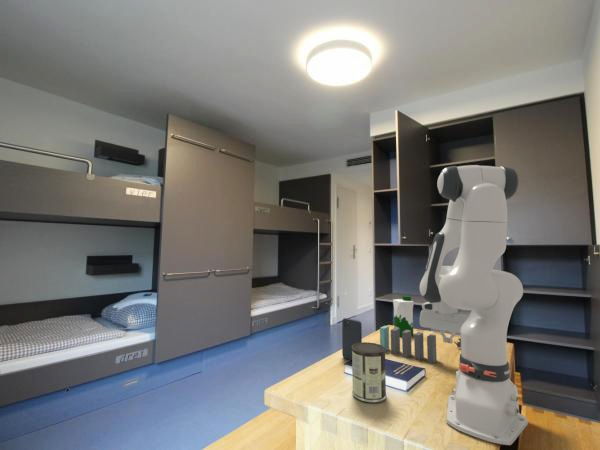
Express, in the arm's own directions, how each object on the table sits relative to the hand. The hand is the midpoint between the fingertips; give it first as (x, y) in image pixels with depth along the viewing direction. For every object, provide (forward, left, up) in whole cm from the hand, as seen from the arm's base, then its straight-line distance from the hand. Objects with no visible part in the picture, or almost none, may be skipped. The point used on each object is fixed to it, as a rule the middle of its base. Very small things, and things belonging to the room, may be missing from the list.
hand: (447, 342), depth 114 cm
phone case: (-20, +31, -9) cm, 38 cm away
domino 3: (0, +16, -9) cm, 18 cm away
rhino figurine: (+23, -4, -9) cm, 25 cm away
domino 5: (0, +6, -9) cm, 10 cm away
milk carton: (+28, +28, -9) cm, 41 cm away
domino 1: (0, +26, -9) cm, 27 cm away
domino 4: (0, +11, -9) cm, 14 cm away
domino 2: (0, +21, -9) cm, 23 cm away
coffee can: (-41, +13, -9) cm, 44 cm away
